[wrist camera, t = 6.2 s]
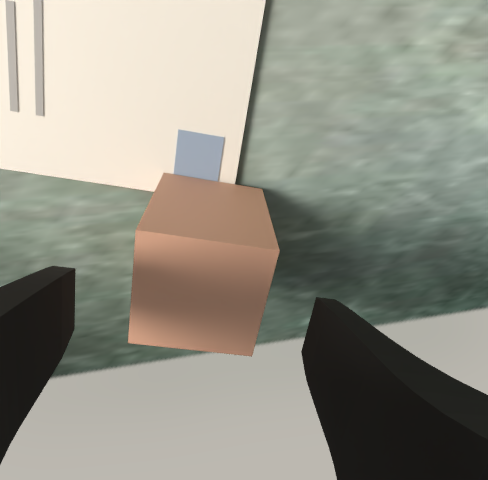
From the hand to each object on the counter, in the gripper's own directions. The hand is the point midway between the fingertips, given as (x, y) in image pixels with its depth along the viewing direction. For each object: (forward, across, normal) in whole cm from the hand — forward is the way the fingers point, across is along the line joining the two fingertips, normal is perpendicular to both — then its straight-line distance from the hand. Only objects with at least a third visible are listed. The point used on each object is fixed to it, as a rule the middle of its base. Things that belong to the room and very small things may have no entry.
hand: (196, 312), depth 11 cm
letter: (+8, +5, -6) cm, 11 cm away
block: (+7, 0, 0) cm, 7 cm away
